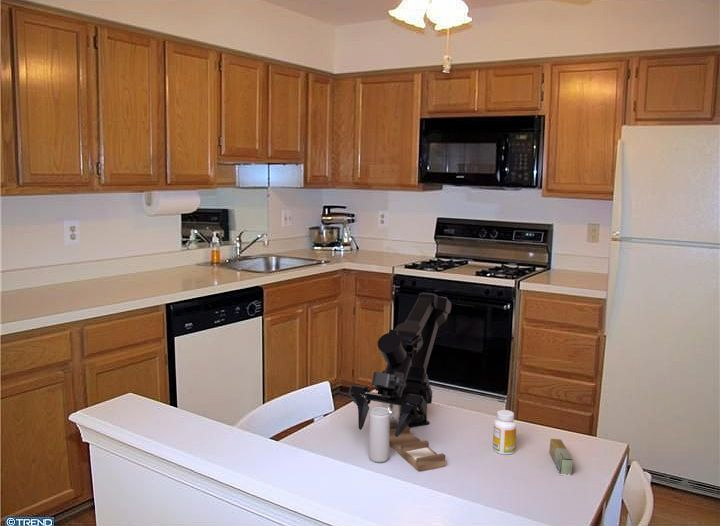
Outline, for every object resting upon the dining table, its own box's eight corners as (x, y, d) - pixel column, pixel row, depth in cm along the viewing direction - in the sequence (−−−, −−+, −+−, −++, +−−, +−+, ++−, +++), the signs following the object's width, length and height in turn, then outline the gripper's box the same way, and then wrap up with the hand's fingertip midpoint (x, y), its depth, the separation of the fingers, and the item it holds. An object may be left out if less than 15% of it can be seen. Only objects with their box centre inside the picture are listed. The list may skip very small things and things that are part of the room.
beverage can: (387, 464, 147) (388, 415, 145) (366, 462, 148) (367, 413, 146) (390, 455, 152) (391, 407, 150) (370, 453, 153) (371, 406, 151)
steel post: (394, 423, 167) (394, 398, 166) (402, 430, 163) (402, 404, 162) (378, 426, 165) (378, 400, 164) (386, 432, 161) (386, 406, 160)
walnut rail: (370, 429, 167) (370, 419, 167) (394, 425, 170) (394, 415, 170) (418, 471, 144) (419, 460, 143) (445, 466, 146) (445, 455, 146)
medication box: (572, 477, 143) (573, 460, 142) (559, 476, 143) (561, 459, 143) (559, 453, 155) (561, 438, 154) (548, 452, 155) (549, 437, 155)
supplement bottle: (517, 448, 157) (519, 410, 156) (512, 457, 152) (514, 418, 151) (495, 444, 159) (497, 407, 158) (490, 452, 154) (492, 414, 153)
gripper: (352, 352, 154) (331, 410, 146) (425, 362, 147) (407, 424, 138) (364, 374, 162) (345, 431, 154) (434, 385, 155) (418, 445, 146)
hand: (377, 432), depth 148 cm, fingers open, 9 cm apart
